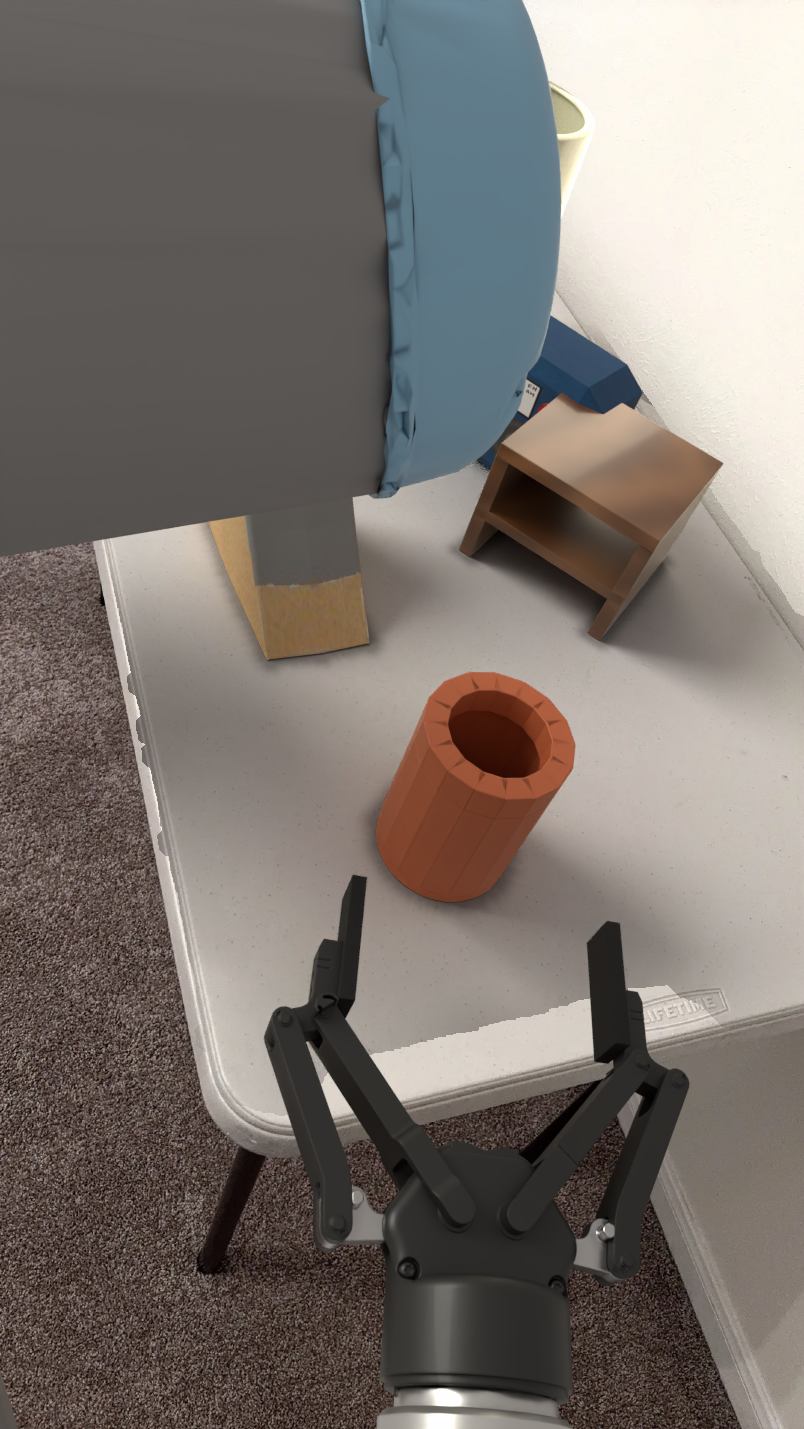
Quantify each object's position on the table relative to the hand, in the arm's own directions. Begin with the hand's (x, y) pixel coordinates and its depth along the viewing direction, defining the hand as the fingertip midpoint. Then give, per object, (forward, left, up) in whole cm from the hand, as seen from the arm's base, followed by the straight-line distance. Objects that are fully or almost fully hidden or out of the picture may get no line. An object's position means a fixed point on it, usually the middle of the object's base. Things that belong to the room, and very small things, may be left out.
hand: (481, 910), depth 51 cm
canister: (-5, +8, -9) cm, 13 cm away
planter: (-38, +60, -9) cm, 72 cm away
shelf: (-12, +40, -9) cm, 43 cm away
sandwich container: (-26, +19, -9) cm, 34 cm away
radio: (-25, +48, -9) cm, 55 cm away
